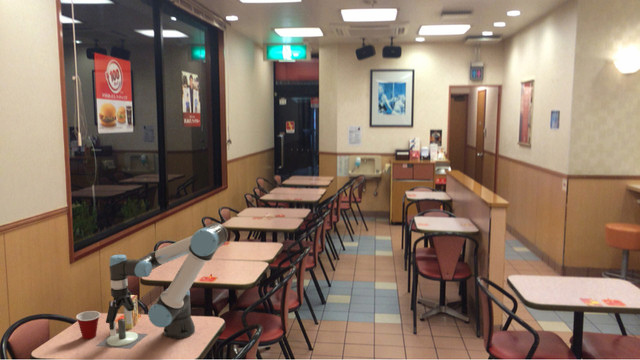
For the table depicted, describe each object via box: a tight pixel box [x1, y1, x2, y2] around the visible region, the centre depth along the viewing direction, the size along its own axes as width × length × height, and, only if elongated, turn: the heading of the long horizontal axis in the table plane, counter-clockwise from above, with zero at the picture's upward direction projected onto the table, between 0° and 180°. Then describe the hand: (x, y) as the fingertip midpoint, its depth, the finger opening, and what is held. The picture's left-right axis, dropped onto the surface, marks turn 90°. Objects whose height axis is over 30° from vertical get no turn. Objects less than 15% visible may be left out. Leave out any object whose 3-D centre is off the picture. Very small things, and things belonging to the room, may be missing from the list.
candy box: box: [123, 294, 139, 330], centre depth 256 cm, size 9×4×15 cm, turn 179°
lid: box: [107, 318, 138, 346], centre depth 239 cm, size 14×14×10 cm
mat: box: [95, 331, 149, 350], centre depth 240 cm, size 18×16×1 cm
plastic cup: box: [75, 310, 101, 340], centre depth 243 cm, size 11×11×12 cm
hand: (121, 329), depth 239 cm, fingers open, 13 cm apart
